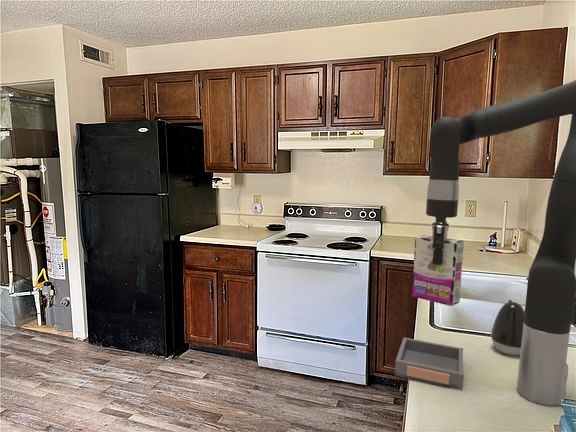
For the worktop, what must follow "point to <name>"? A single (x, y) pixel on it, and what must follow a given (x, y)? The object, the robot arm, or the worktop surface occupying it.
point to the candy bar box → (437, 271)
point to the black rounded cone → (508, 328)
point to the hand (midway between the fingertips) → (437, 261)
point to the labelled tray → (430, 363)
